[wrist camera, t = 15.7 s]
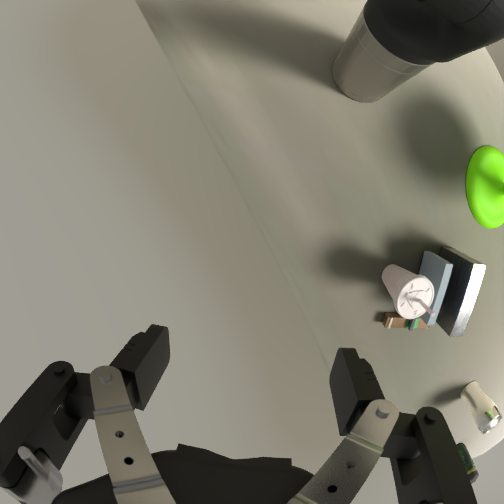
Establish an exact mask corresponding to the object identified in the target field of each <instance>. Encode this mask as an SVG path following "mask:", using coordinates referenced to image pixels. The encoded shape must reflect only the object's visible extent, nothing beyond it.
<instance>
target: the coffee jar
mask: <svg viewBox="0 0 504 504" xmlns="http://www.w3.org/2000/svg"><path fill="white" fill-rule="evenodd" d="M457 448H458V451H459V453H460V456H461V458H462V461H463V463H464V466H465V469H466V471H467V474H468V477H469V480H470V482H471V484H472V483H473V482H475V481H476V479H477V478H478V472H477V470H476V468H475V465H474V463H473V461H472V459H471V457H470V454H469V452H468V450H467V448H466V446H465V444H463V443H461V444H459V445H457Z"/></svg>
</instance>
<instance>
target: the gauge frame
mask: <svg viewBox="0 0 504 504" xmlns="http://www.w3.org/2000/svg"><path fill="white" fill-rule="evenodd" d="M439 256H440V257H441V258H443V259H445V260H446V261H448V262H450V263H452V264H453V267H452V271H451V275H450V278H449V282H448V285H447V289H446V292H445V295H444V298H443V301H442V304H441V307H440V310H439V313H438V316H437V319H436V322H437V323H438V324H439V325H440V326H441V328H442V329H443V330H444V331H445V332H446V333H447V334H448V335H449V336H450V337H452V336H462V335H463V332H464V330H465V327H466V325H467V322H468V320H469V317H470V315H471V312H472V309H473V306H474V304H475V301H476V298H477V295H478V292H479V288H480V285H481V282H482V278H483V275H484V271H485V268H486V265H484V264H482V263H480V262H478V261H477V260H475V259H473V258H471V257H469V256H467V255H465V254H463V253H461V252H459V251H457V250H455V249H454V248H448V247H443V246H441V250H440V255H439ZM410 322H411V319H406V318H403V317H402V316H401V315H400V314H399V313H386V312H385V313H384V316H383V320H382V324H383V325H384V327H388V328H408V327H409V325H410ZM429 327H430V325H426V323H425V322H424V321H423V320H422V319H421V318H420V317H417V318H416V321H415V323H414V326H413V328H429Z"/></svg>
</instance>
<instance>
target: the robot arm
mask: <svg viewBox="0 0 504 504" xmlns="http://www.w3.org/2000/svg"><path fill="white" fill-rule="evenodd" d="M503 38H504V0H367V2H366V4H365V6H364V8H363V10H362V11H361V13H360V15H359V17H358V19H357V21H356V23H355V24H354V26H353V28H352V30H351V32H350V34H349V35H348V37H347V39H346V41H345V43H344V45H343V47H342V48H341V50H340V52H339V54H338V56H337V57H336V59H335V61H334V64H333V67H332V74H333V78H334V81H335V83H336V85H337V86H338V88H339V89H340V90H341V91H342V92H343V93H344V94H345V95H347V96H348V97H350V98H352V99H354V100H356V101H359V102H366V103H367V102H374V101H377V100H379V99H380V98H382V97H383V96H385V95H386V94H388V93H389V92H391V91H392V90H394V89H395V88H397V87H398V86H400V85H401V84H403V83H404V82H406V81H407V80H409V79H410V78H412V77H413V76H415V75H417V74H418V73H420V72H421V71H423V70H424V69H426V68H427V67H429V66H430V65H432V64H434V63H435V62H448V61H451V60H453V59H456V58H458V57H460V56H462V55H465V54H467V53H470V52H472V51H475V50H477V49H480V48H482V47H485V46H487V45H489V44H492V43H495V42H497V41H499V40H501V39H503ZM169 359H170V345H169V331H168V328H167V327H164V326H159V325H154V324H152V325H151V326H150V327H149V328H148V330H147V331H146V332H145V333H144V332H140V333H138V334H136V335H134V336H133V337H132V338H131V339H130V340H129V342H128V343H127V344H126V345H125V346H124V348H123V349H122V350H121V351H120V353H119V354H118V355H117V356H116V357H115V359H114V360H113V361H112V362H111V364H110V365H109V366H100V367H98V368H96V369H94V370H93V371H92V372H91V374H88V373H78V372H74V369H73V366H72V365H71V364H70V363H68V362H65V361H57V362H54V363H52V364H50V365H49V366H48V367H47V368H46V369H45V370H44V371H43V372H42V373H41V375H40V376H39V377H38V378H37V379H36V380H35V381H34V383H33V384H32V385H31V386H30V387H29V388H28V390H27V391H26V392H25V393H24V394H23V396H22V397H21V398H20V399H19V400H18V402H17V403H16V404H15V405H14V406H13V408H12V409H11V410H10V411H9V413H8V414H7V415H6V416H5V418H4V419H3V420H2V422H1V423H0V487H1V488H2V489H3V490H4V491H5V492H7V493H8V494H9V495H10V496H11V497H13V498H14V499H16V500H18V501H19V502H20V503H21V504H350V503H351V501H352V500H353V499H354V497H355V495H356V494H357V493H358V491H359V490H360V488H361V487H362V485H363V484H364V482H365V481H366V479H367V478H368V476H369V474H370V472H371V471H372V469H373V468H374V466H375V464H376V463H377V461H378V459H379V457H387V458H390V461H391V466H392V471H393V475H394V480H395V485H396V491H397V496H398V502H399V504H477V501H476V498H475V494H474V491H473V488H472V486H471V482H470V480H469V477H468V474H467V471H466V469H465V466H464V463H463V461H462V458H461V456H460V453H459V451H458V448H457V446H456V443H455V441H454V439H453V436H452V434H451V432H450V430H449V427H448V425H447V423H446V421H445V419H444V416H443V415H442V413H441V412H440V411H439V410H437V409H436V408H433V407H423V408H421V409H419V410H418V412H417V413H416V415H414V414H407V413H401V412H399V410H398V408H397V407H396V405H394V404H393V403H392V402H390V401H387V400H385V398H384V395H383V393H382V390H381V388H380V386H379V383H378V381H377V380H376V379H377V378H376V376H375V374H374V371H373V369H372V367H371V365H370V364H369V363H368V362H367V361H366V360H365V359H359V356H358V354H357V351H356V349H355V348H339V349H338V351H337V354H336V357H335V361H334V364H333V367H332V370H331V373H330V388H331V393H332V398H333V403H334V407H335V413H336V418H337V423H338V428H339V434H340V436H346V437H345V438H344V440H343V441H342V442H341V444H340V445H339V446H338V447H337V449H336V450H335V451H334V453H333V454H332V455H331V456H330V458H329V459H328V460H327V461H326V462H325V464H324V465H323V466H322V467H321V468H320V469H319V471H318V472H317V473H316V474H315V475H313V474H311V473H310V472H308V471H306V470H304V469H301V468H298V467H295V466H292V465H291V458H271V457H259V458H249V459H230V458H227V457H225V456H222V455H219V454H216V453H214V452H211V451H209V450H206V449H202V448H197V447H192V446H187V445H183V444H178V447H177V450H166V451H160V452H156V453H152V454H150V452H149V449H148V447H147V444H146V442H145V440H144V437H143V435H142V432H141V430H140V427H139V424H138V422H137V419H136V416H135V414H134V409H135V408H136V409H140V410H143V411H144V409H145V407H146V405H147V403H148V401H149V399H150V397H151V395H152V394H153V392H154V390H155V388H156V386H157V384H158V382H159V380H160V379H161V376H162V375H163V373H164V371H165V369H166V367H167V366H168V363H169ZM59 406H60V407H59ZM58 407H59V408H58ZM57 409H58V410H57ZM56 410H57V411H56ZM54 413H55V414H54ZM88 419H94V420H95V424H96V428H97V433H98V437H99V441H100V444H101V449H102V452H103V456H104V459H105V462H106V466H107V469H108V472H109V473H108V474H106V475H104V476H101V477H99V478H97V479H94V480H91V481H89V482H86V483H84V484H81V485H78V486H76V487H73V488H70V489H67V490H65V491H62V492H61V490H62V483H63V478H62V475H61V473H60V471H59V470H60V469H61V467H62V465H63V463H64V461H65V459H66V458H67V456H68V454H69V452H70V450H71V449H72V447H73V445H74V443H75V441H76V440H77V438H78V436H79V434H80V433H81V431H82V429H83V427H84V426H85V424H86V422H87V420H88Z"/></svg>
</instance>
